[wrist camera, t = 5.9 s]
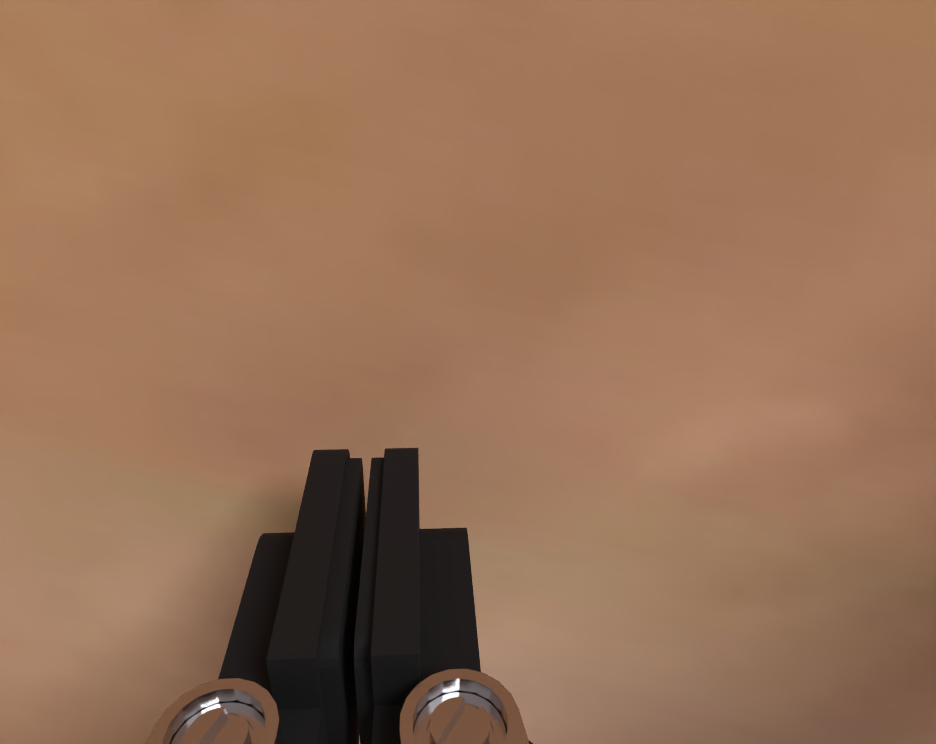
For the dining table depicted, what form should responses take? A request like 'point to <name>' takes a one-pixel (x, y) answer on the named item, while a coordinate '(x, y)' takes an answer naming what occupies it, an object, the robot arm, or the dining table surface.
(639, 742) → the dining table surface
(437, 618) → the robot arm
